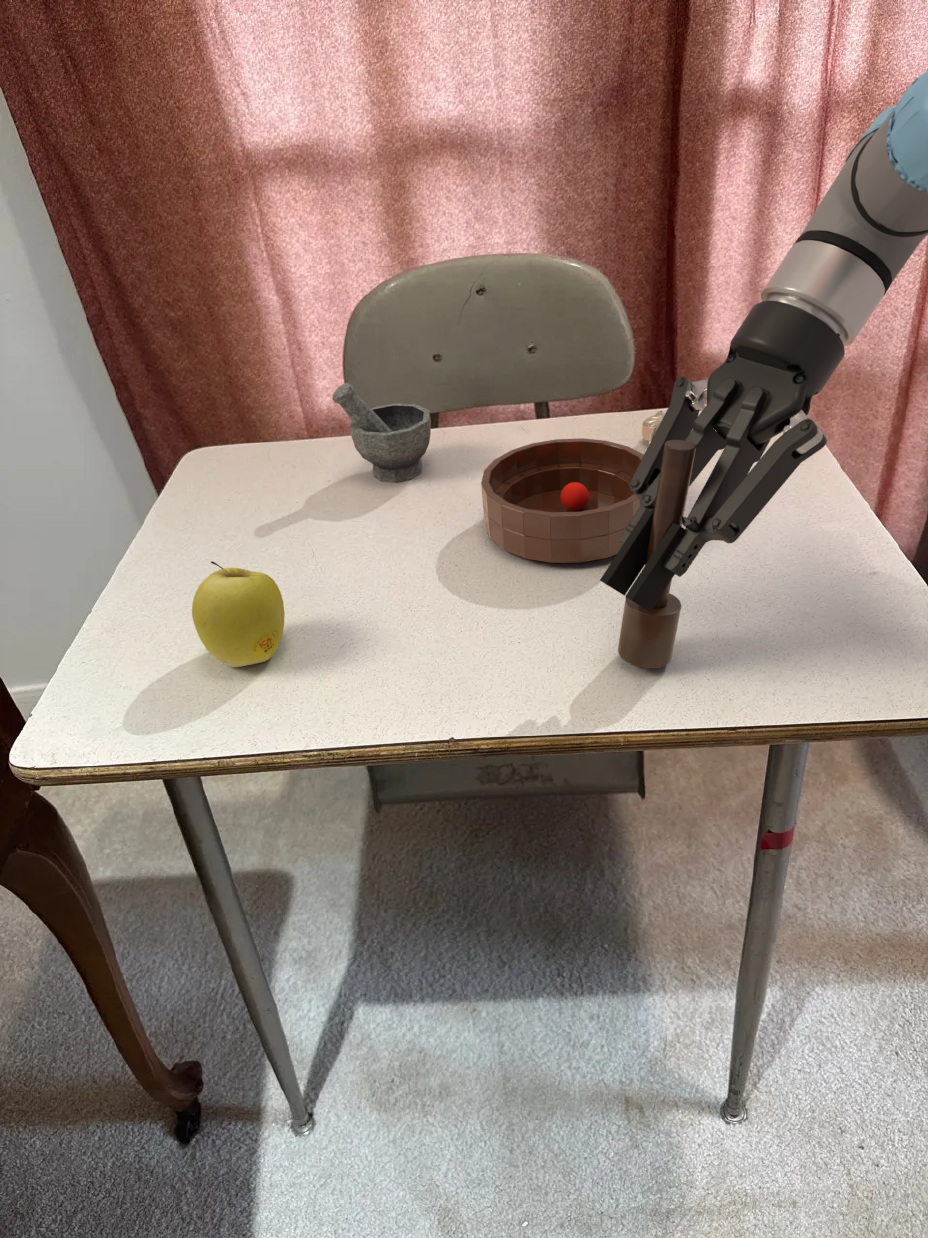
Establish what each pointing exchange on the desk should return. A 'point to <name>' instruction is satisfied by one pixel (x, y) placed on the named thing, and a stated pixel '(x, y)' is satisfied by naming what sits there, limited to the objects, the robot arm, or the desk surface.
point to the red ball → (574, 496)
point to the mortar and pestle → (387, 434)
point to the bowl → (531, 499)
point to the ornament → (652, 426)
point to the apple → (239, 616)
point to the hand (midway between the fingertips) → (625, 595)
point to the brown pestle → (641, 630)
